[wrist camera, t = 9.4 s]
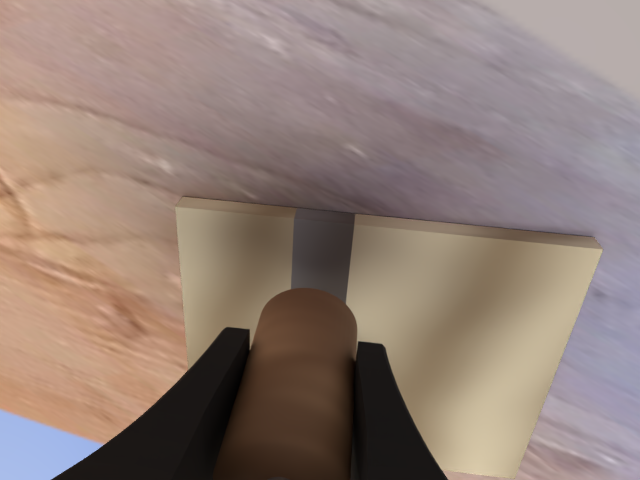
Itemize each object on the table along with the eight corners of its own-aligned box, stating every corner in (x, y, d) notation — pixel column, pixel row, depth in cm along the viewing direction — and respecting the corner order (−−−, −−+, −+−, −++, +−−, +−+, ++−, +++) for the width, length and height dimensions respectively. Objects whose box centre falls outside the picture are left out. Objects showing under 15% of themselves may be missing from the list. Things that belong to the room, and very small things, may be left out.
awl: (358, 289, 14) (345, 556, 8) (356, 366, 16) (344, 642, 10) (255, 285, 14) (169, 541, 8) (262, 362, 16) (193, 626, 10)
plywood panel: (594, 237, 18) (603, 249, 17) (510, 462, 23) (514, 479, 23) (182, 196, 18) (175, 206, 18) (199, 425, 24) (194, 439, 23)
